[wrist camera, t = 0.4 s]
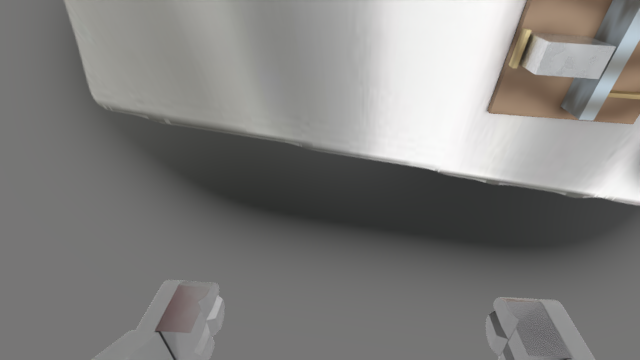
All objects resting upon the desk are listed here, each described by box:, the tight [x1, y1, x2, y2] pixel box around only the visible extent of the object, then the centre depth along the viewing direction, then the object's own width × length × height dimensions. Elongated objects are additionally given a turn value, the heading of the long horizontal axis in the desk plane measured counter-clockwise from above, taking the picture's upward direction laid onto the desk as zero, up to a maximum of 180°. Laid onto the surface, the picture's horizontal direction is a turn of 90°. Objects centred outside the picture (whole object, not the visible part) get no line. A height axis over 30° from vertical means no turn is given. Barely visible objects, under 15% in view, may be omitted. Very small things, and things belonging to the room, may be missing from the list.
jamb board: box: [487, 0, 640, 124], centre depth 44 cm, size 20×22×6 cm
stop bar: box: [519, 33, 616, 79], centre depth 43 cm, size 4×8×6 cm, turn 87°
